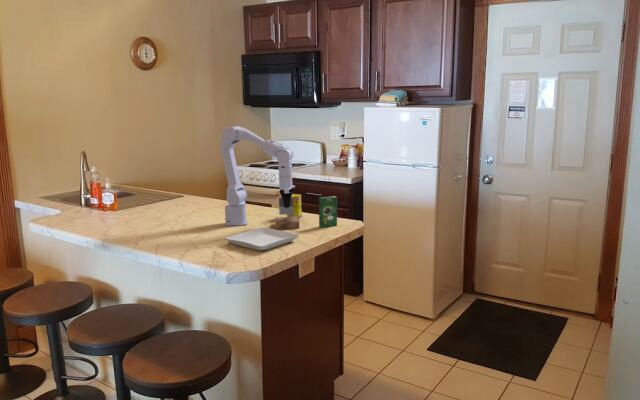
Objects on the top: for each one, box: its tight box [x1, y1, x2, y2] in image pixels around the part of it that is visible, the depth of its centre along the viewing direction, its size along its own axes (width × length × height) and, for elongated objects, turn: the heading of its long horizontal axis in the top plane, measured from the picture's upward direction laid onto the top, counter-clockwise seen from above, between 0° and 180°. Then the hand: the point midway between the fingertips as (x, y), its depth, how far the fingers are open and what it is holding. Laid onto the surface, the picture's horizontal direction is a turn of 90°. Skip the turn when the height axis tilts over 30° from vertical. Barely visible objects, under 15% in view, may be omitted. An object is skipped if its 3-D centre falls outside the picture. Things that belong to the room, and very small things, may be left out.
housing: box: [278, 196, 293, 216], centre depth 225 cm, size 6×4×8 cm, turn 96°
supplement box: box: [286, 193, 303, 220], centre depth 241 cm, size 6×6×11 cm
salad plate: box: [224, 227, 299, 251], centre depth 202 cm, size 21×21×3 cm
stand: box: [275, 216, 300, 230], centre depth 227 cm, size 10×10×3 cm
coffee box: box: [318, 195, 338, 228], centre depth 225 cm, size 8×3×13 cm, turn 119°
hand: (286, 206), depth 226 cm, fingers closed on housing, 4 cm apart
